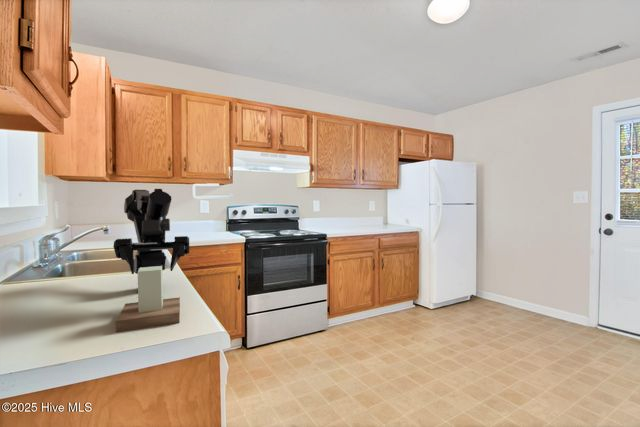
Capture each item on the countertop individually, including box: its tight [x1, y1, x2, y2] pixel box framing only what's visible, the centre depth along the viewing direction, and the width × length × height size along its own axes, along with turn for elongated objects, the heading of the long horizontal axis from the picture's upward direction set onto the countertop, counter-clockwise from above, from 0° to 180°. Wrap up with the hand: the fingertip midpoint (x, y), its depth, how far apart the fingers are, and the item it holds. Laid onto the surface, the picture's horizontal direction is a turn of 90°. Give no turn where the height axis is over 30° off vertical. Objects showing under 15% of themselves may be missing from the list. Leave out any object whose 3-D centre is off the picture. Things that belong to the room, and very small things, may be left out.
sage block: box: [137, 266, 164, 313], centre depth 78 cm, size 5×5×10 cm
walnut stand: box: [115, 296, 181, 333], centre depth 78 cm, size 13×13×2 cm
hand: (152, 271), depth 83 cm, fingers open, 9 cm apart
